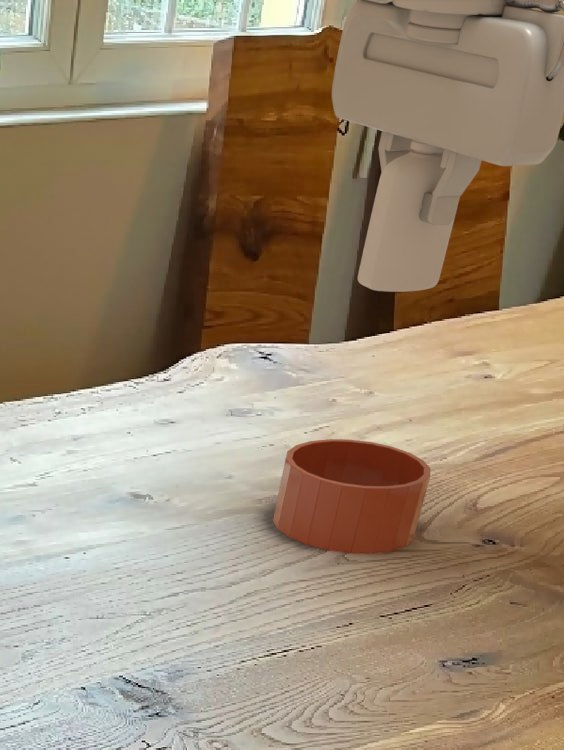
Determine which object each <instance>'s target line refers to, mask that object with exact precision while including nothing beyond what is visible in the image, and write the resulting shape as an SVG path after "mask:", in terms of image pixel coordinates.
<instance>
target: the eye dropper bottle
mask: <svg viewBox="0 0 564 750" xmlns="http://www.w3.org/2000/svg"><path fill="white" fill-rule="evenodd" d="M410 148H411V149H414V150H410V152H409V153H408V154H405V155H403V156H401V157H398V158H396V159H394V160H393V161H391V162H390V163H389V164H387V165H386V166H385V168H384V169H383V171H382V172H381V173H380V177H379V180H378V184H377V187H376V193H375V197H374V200H373V201H374V202H373V205H372V210H371V214H370V218H369V224H368V228H367V233H366V237H365V242H364V244H363V245H364V246H363V251H362V255H361V260H360V263H359V269H358V273H357V281H358V283H359V284H360V285H362V286H363V287H366V288H368V289H370V290H372V291H376V292H391V293H393V292H399V293H400V292H402V293H403V292H404V293H405V292H417V291H424V290H428V289H432V288H434V287H436V286H437V285H438V283H439V281H440V277H441V275H442V274H441V273H442V269H443V266H444V262H445V258H446V254H447V250H448V247H449V246H448V245H449V243H450V238H451V234H452V230H453V227H454V222H455V218H456V215H457V210H458V205H459V202H460V197H461V196H459V200H458V204H457V208H456V212H455V216H454V219H453V221H452V222H451V223H450V224H448V225H432V224H429V223H427V222H424V221H422V220H421V219H420V216H419V214H420V210H421V209H422V201H423V197H424V193H428V192H433V191H434V189H435V187H436V186H437V184H438V182H439V180H440V178H441V177H442V175H443V173H444V171H445V169H444V168H441V166H440V165H441V161H442V156H443V152H444V149H442V148H438V147H435V146H432V145H428V144H425V143H421V142H418V141H415V140H412V142H411V147H410Z"/></svg>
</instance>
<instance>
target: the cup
mask: <svg viewBox="0 0 564 750" xmlns="http://www.w3.org/2000/svg"><path fill="white" fill-rule="evenodd" d="M285 455H286V457H285V460H284V465H283V469H282V475H281V479H280V483H279V489H278V494H277V497H276V498H277V499H276V504H275V508H274V512H273V513H274V514H273V517H272V518H273V519H272V522H273V524H274V526H275V528H276V529H277V530H278V531H279V532H281V533H282V534H284V535H285V536H287V537H288V538H290V539H292V540H294V541H296V542H299V543H302V544H304V545H307V546H311V547H314V548H317V549H322V550H324V551H325V550H326V551H331V552H339V553H346V554H370V555H371V554H381V553H389V552H394V551H396V550H399V549H403V548H405V547H408V545H409V544H410V543H412V541H414V539H415V535H416V532H417V527H418V524H419V519H420V516H421V512H422V508H423V505H424V501H425V498H426V494H427V490H428V487H429V483H430V479H431V467H430V465H428V464H427V462H426V461H425V460H424V459H422V458H420V457H418V456H417V455H415V454H413V453H411V452H408V451H406V450H403V449H400V448H397V447H394V446H391V445H387V444H383V443H379V442H378V443H377V442H373V441H367V440H366V441H365V440H358V439H357V440H356V439H339V438H338V439H337V438H330V439H329V438H328V439H318V440H309V441H305V442H303V443H299V444H296V445H294V446H293V447H291V448H289V449H288V450H287V452H286V454H285Z"/></svg>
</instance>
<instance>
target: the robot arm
mask: <svg viewBox="0 0 564 750" xmlns="http://www.w3.org/2000/svg"><path fill="white" fill-rule="evenodd" d="M561 11H563V12H564V0H357V1H355V2H354V4H353V5H352V6H351V7H350V9H349V10H348V13H347V15H346V17H345V19H344V24H343V28H342V32H341V37H340V41H339V45H338V51H337V57H336V62H335V66H334V71H333V72H334V73H333V79H332V86H331V102H332V108H333V112H334V115H335V117H336V118H338V119H340V120H344V121H347V122H350V123H354V124H358V125H361V126H363V127H367V128H371V129H375V130H378V131H381V134H380V139H379V144H378V148H377V150H378V157H379V163H380V171H381V173H382V171H383V169H384V168H385V166H386V165H387V164H389V163H390V162H391V161H393V160H394V159H396V158H398V157H401V156H403V155H405V154H408V153H409V152H410V151H412V150H414V149H411V148H410V147H411V142H412V140H415V141H418V142H421V143H425V144H428V145H432V146H435V147H438V148H442V149H444V152H443V156H442V161H441V165H440V166H441V168H444V169H445V171H444V173H443V175H442V177H441V178H440V180H439V182H438V184H437V186H436V187H435V189H434V191H433V192H428V193H424V197H423V201H422V209H421V210H420V214H419V216H420V219H421V220H422V221H424V222H427V223H429V224H432V225H448V224H450V223H451V222H452V221H453V219H454V220H455V218H454V216H455V217H456V214H455V212H456V213H457V210H456V208H457V209H458V206H457V204H458V205H459V202H458V200H459V201H460V198H459V196H460V197H461V196H462V195H463V194H464V192H465V191H466V189H467V188H468V187H469V185H470V184H471V183H472V181H473V180H474V178H475V177H476V176H477V174H478V173H479V172H480V168H481V165H482V161H483V162H486V163H490V164H492V165H496V166H500V167H524V166H525V167H526V166H536V165H540V164H542V163H543V162H544V161H545V159H546V158H547V157H548V156H549V155H550V154H551V153H552V151H553V150H554V149H555V147H556V145H557V142H558V139H559V134H560V130H561V125H562V121H563V117H564V13H561Z"/></svg>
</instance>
